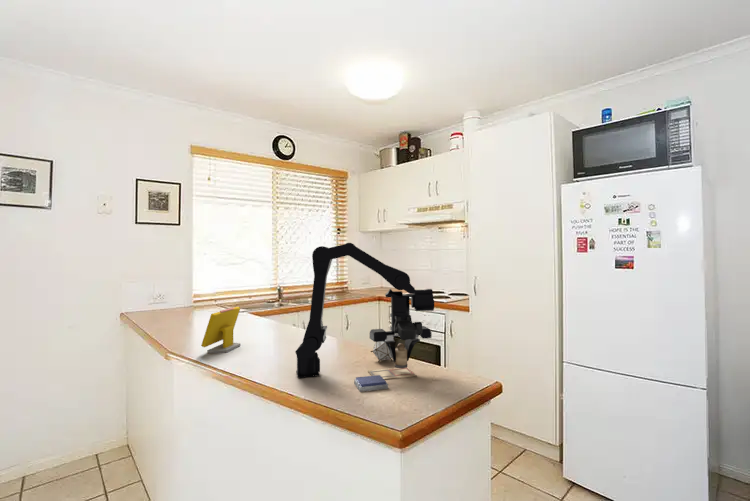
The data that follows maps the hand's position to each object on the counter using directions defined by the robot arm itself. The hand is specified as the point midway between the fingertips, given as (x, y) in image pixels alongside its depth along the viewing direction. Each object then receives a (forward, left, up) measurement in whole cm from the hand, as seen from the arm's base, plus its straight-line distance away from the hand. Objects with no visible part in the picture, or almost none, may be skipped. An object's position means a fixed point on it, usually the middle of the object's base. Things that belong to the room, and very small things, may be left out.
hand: (400, 361), depth 120 cm
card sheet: (-3, 0, -4) cm, 5 cm away
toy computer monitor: (-56, +50, -4) cm, 76 cm away
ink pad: (-12, -9, -4) cm, 15 cm away
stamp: (0, 0, -2) cm, 2 cm away
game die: (-1, +14, -4) cm, 15 cm away
